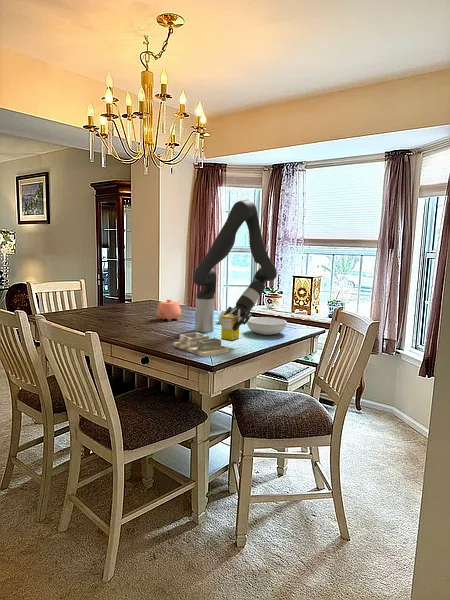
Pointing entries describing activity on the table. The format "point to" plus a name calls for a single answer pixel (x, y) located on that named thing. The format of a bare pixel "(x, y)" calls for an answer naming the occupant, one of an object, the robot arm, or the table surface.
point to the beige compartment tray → (200, 344)
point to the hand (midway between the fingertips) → (228, 328)
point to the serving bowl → (266, 325)
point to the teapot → (168, 310)
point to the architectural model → (221, 316)
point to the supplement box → (229, 328)
